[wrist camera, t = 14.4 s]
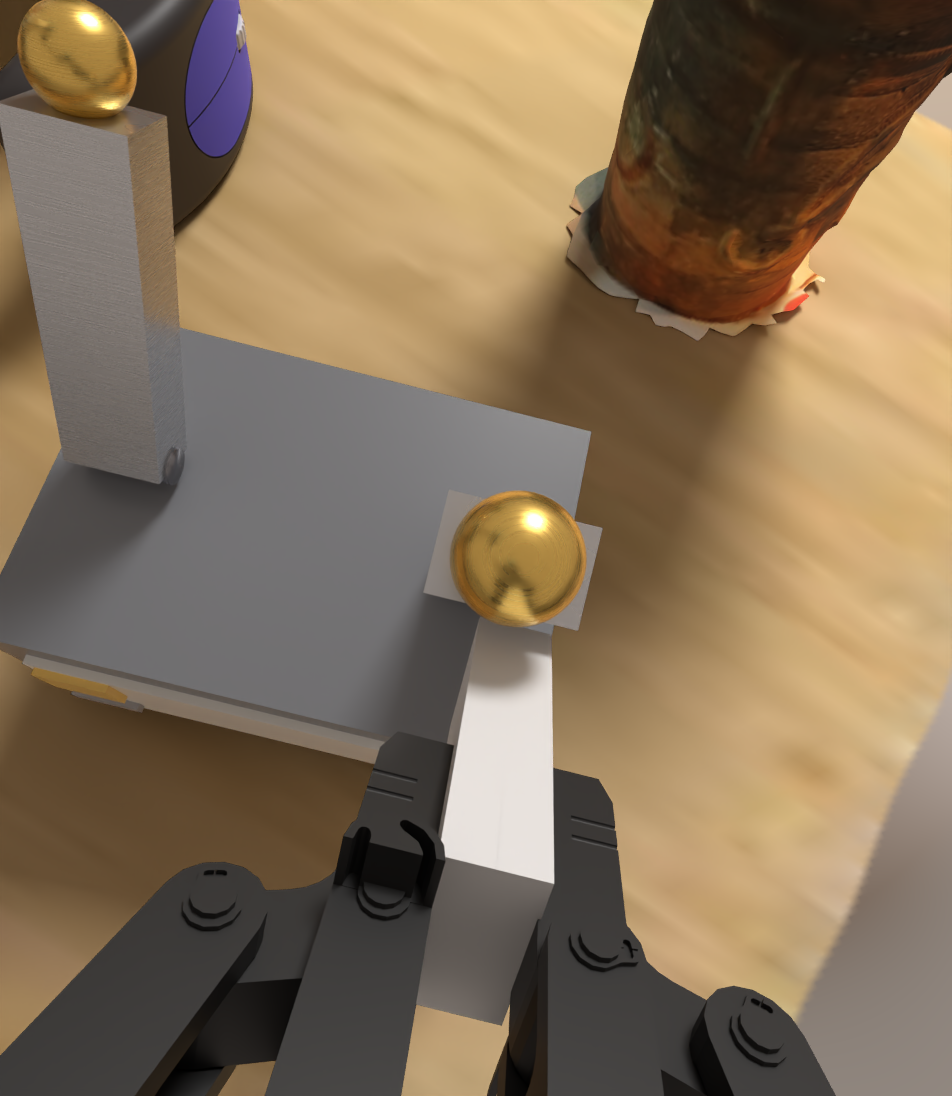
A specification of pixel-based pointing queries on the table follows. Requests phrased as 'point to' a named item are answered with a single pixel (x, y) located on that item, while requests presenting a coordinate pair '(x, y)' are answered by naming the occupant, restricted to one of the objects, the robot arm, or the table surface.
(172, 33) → the dark grey curved slab
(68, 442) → the lever
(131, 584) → the console
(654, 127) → the vessel
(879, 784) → the table surface
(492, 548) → the lever
